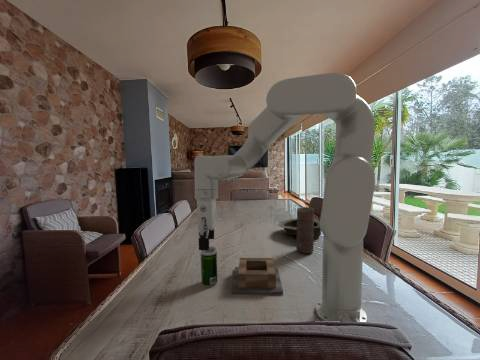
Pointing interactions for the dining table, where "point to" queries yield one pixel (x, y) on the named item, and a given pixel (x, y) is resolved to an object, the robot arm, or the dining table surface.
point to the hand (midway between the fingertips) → (207, 244)
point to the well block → (256, 277)
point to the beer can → (209, 267)
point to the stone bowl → (291, 227)
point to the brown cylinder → (305, 229)
